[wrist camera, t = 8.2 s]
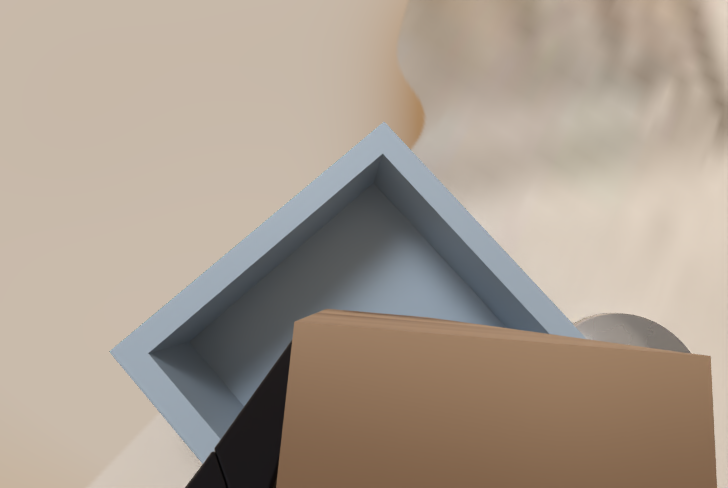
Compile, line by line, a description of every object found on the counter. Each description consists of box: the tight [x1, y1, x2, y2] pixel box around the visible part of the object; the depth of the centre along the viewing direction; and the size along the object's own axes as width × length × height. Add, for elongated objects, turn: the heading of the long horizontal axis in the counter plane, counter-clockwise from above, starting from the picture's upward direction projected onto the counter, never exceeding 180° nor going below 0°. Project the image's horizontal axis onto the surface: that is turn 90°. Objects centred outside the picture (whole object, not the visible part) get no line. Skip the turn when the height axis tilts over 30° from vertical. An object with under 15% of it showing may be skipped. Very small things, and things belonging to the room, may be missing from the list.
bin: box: [110, 122, 586, 464], centre depth 18 cm, size 14×14×5 cm
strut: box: [276, 309, 717, 488], centre depth 9 cm, size 4×4×12 cm
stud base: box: [573, 313, 691, 354], centre depth 19 cm, size 9×9×3 cm
